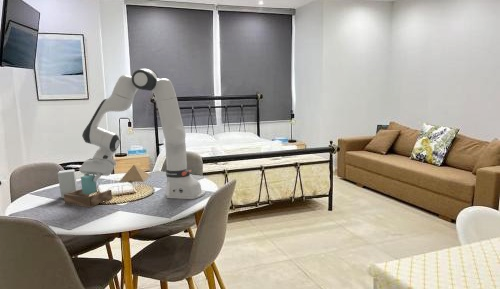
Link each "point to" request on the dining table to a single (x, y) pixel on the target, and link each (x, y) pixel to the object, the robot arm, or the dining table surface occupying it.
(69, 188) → the skincare box
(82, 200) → the walnut crate
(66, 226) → the dining table surface
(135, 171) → the model pyramid
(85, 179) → the teal block
